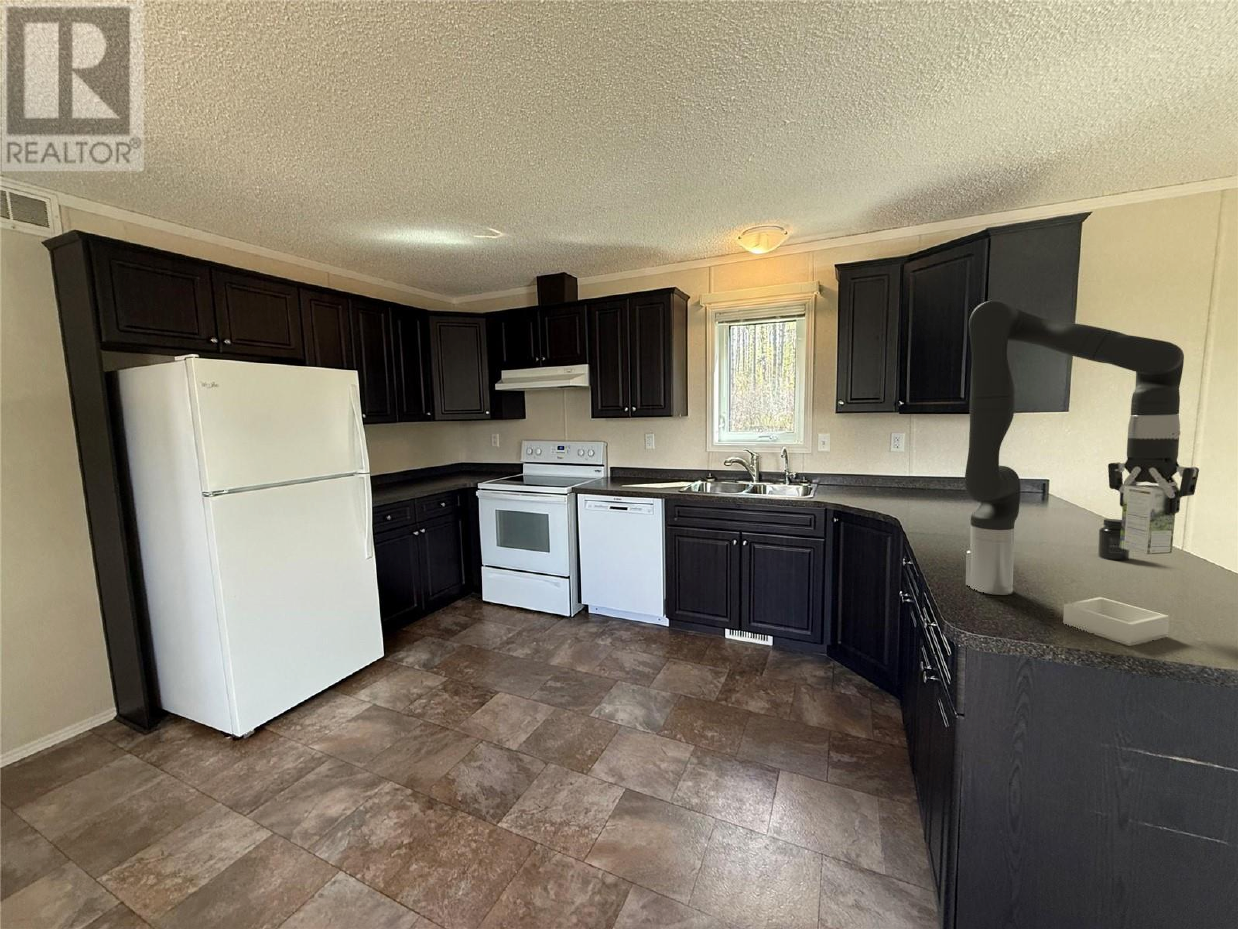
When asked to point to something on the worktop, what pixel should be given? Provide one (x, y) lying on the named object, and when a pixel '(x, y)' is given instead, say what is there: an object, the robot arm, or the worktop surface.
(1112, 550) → the supplement bottle
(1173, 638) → the worktop surface
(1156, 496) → the syrup box
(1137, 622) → the bin
